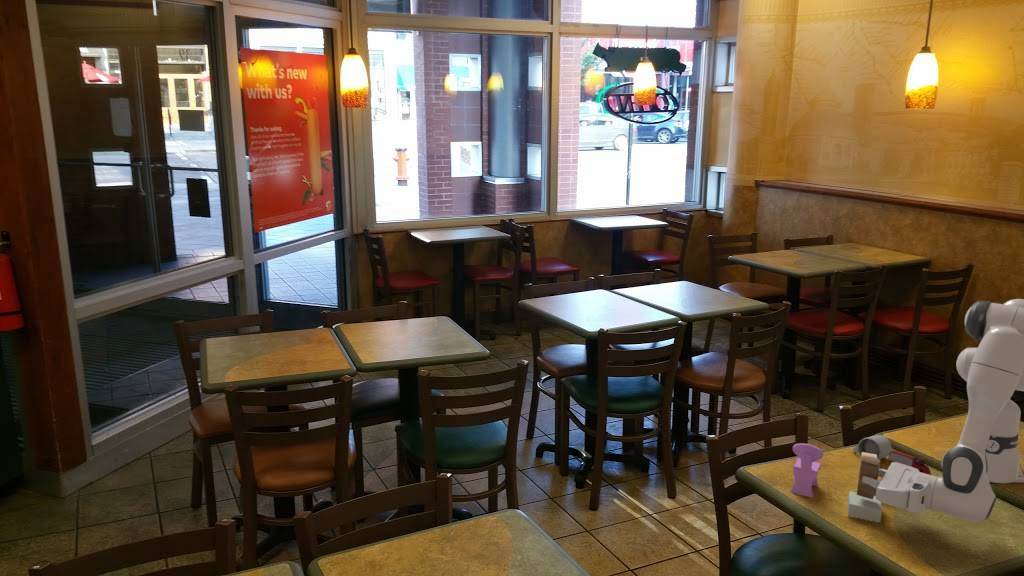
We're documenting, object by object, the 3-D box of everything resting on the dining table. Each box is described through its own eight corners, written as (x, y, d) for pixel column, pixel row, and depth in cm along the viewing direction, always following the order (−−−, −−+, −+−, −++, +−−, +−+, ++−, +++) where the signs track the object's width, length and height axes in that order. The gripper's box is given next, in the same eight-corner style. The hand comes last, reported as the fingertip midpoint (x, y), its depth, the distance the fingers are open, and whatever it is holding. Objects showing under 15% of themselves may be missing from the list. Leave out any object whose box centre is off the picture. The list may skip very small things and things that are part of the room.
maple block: (857, 483, 229) (861, 452, 226) (872, 485, 227) (876, 454, 225) (858, 489, 225) (862, 457, 223) (873, 491, 224) (877, 460, 221)
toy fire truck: (925, 500, 219) (930, 467, 217) (880, 485, 228) (885, 452, 226) (934, 493, 224) (939, 459, 222) (889, 477, 233) (894, 445, 230)
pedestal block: (847, 504, 217) (849, 491, 216) (878, 510, 214) (880, 497, 213) (847, 517, 210) (849, 503, 209) (880, 523, 207) (882, 510, 206)
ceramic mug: (892, 459, 245) (895, 436, 243) (878, 466, 240) (881, 443, 238) (860, 448, 253) (863, 426, 252) (846, 454, 248) (849, 431, 247)
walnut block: (860, 489, 213) (864, 455, 211) (875, 493, 211) (880, 459, 209) (856, 494, 210) (861, 460, 208) (872, 499, 208) (877, 465, 206)
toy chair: (822, 486, 226) (827, 438, 223) (816, 498, 219) (822, 449, 215) (792, 479, 230) (797, 432, 227) (786, 491, 223) (791, 443, 220)
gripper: (929, 464, 209) (875, 451, 217) (916, 493, 193) (857, 477, 201) (926, 486, 211) (872, 471, 219) (913, 516, 195) (854, 499, 203)
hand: (865, 474), depth 210 cm, fingers closed on walnut block, 4 cm apart
